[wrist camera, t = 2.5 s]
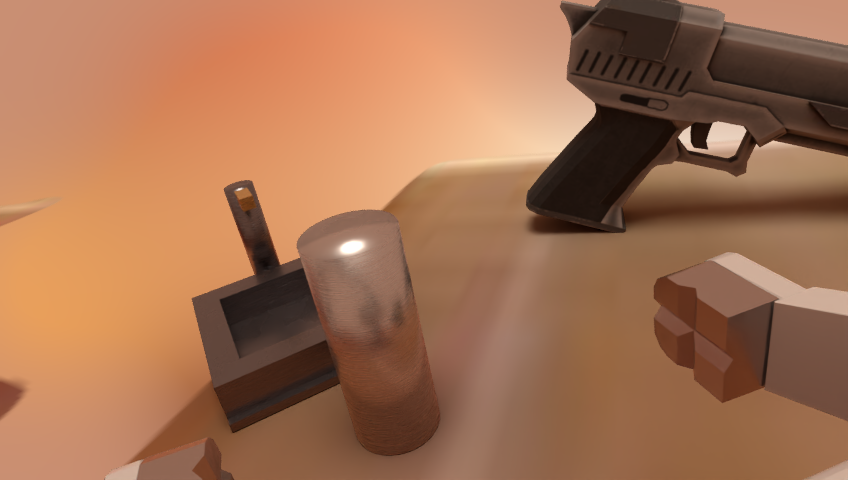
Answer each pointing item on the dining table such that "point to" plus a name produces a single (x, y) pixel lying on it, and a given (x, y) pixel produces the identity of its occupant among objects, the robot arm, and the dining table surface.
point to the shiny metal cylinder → (372, 328)
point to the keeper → (262, 327)
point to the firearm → (682, 99)
